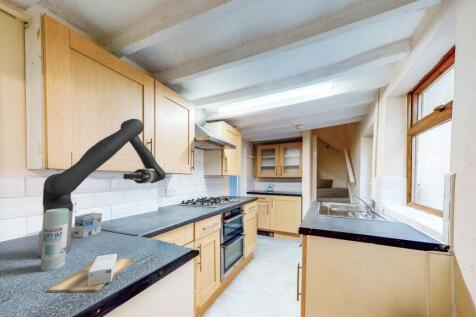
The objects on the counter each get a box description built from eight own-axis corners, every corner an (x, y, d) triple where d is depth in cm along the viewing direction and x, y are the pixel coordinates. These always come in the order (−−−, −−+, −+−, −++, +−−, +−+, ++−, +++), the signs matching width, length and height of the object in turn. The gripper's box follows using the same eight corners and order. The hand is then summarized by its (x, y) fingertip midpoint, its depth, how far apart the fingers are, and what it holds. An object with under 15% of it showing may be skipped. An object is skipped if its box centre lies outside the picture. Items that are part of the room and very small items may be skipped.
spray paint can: (68, 261, 74) (72, 207, 76) (59, 269, 68) (64, 210, 70) (46, 264, 72) (50, 208, 74) (35, 272, 66) (40, 212, 68)
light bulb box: (83, 238, 102) (84, 216, 103) (72, 237, 103) (74, 216, 104) (101, 232, 113) (102, 212, 113) (91, 231, 114) (92, 212, 115)
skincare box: (96, 268, 68) (86, 288, 57) (97, 255, 68) (86, 272, 57) (117, 265, 70) (111, 283, 59) (117, 252, 71) (111, 268, 60)
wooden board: (46, 291, 55) (47, 289, 56) (96, 260, 75) (96, 259, 75) (97, 291, 56) (97, 289, 56) (133, 260, 76) (133, 259, 76)
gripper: (131, 169, 105) (111, 168, 88) (156, 169, 106) (141, 168, 88) (131, 183, 105) (110, 184, 88) (156, 183, 105) (140, 185, 88)
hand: (126, 176), depth 88 cm, fingers closed
